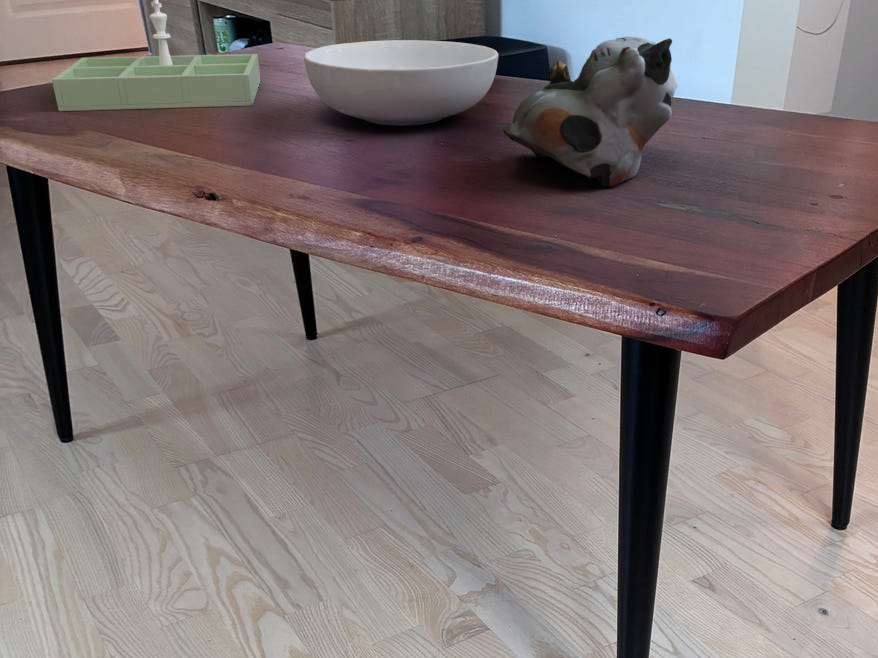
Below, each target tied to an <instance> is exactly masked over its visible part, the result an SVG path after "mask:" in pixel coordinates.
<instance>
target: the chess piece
mask: <svg viewBox="0 0 878 658" xmlns="http://www.w3.org/2000/svg"><path fill="white" fill-rule="evenodd" d="M150 5H151V7H152V8H154V12H153V13H150V14H149V19H150V21H151V23H152V24H153V27H154V29H155V31H156V33H154V34H152V39H155V40H158V41H157V42H158V56H159V62H160V65H173V64H172V60H171V57H170V56H171V54H170V50H169V46H168V41H167V39H170V38H171V37H172V36H171V34H170V33H167V32H166V27H167V20H168V15H167V14H166V13H164V12H162V11H161V8H162V6H163V5H162V3H161V2H159V0H153V1H151V2H150Z"/></svg>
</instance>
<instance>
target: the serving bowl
mask: <svg viewBox="0 0 878 658" xmlns="http://www.w3.org/2000/svg"><path fill="white" fill-rule="evenodd" d="M303 59H304V60H303V61H304V66H305V71H306V74H307V75H306V76H307V77H308V80H309V83H310V85H311V87H312V89H313V91H314V92H315V93H316V95H317V96H318V97H319V98H320V99H321V100H322V101H323V102H324V103H325V104H326V105H327V106H329V107H330V108H331V109H333V110H335V111H337V112H339V113H341V114H344V115H347V116H350V117H353V118H357V119H360V120H361V119H362V120H364V121H366V122H368V123H372V124H376V125H381V126H382V125H383V126H396V127H397V126H398V127H401V126H406V127H407V126H419V125H427V124H432V123H436V122H439V121H441V120H443V119H445V118H448V117H453V116H455V115H458V114H461V113H464V112H465V111H467V110H469V109H471V108H472V107H474V106H476V105H477V104H478V103H479V102H480V101H481V100H482V99H483V98H484V97H485V96H486V95H487V93H488V92H489V90H490V88H491V87H492V85H493V83H494V80H495V77H496V73H497V68H498V62H499V53H498V52H497V50H496V49H494V48H491V47H488V46H485V45H479V44H473V43H466V42H456V41H446V40H445V41H444V40H443V41H441V40H422V39H421V40H419V39H418V40H417V39H414V40H413V39H410V40H408V39H394V40H393V39H391V40H388V39H387V40H369V41H357V42H345V43H336V44H330V45H324V46H320V47H318V48H317V47H316V48H313V49H310V50H309V51H307V52H305V54H304V55H303Z"/></svg>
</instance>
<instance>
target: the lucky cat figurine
mask: <svg viewBox="0 0 878 658" xmlns="http://www.w3.org/2000/svg"><path fill="white" fill-rule="evenodd" d="M672 43H673V40H672V38H665V39H663V40H661V41H659V42H657V43H656V42H655V41H652V40H648V39H645V38H642V37H637V36H636V37H635V36H623V37H616V38H615V39H609V40H608V39H607V40H605V41H602V42H601V43H600V44H598V45H596V47H595V48H593V49H592V50H591V52H590V55H589V56H588V57H587V59H586V60H585V62H584V64H583V65H582V67H581V70H580V72H579V74H578V77H577V78H576V79H574V81H573V80H571V75H570V72H569V68H568V65H566V64H565V63H563V62H562V61H561V60H558V61H556V62H555V63H554V64H553V66H551V67H550V69H549V84H547V85H545V86H544V87H543V88H541V89H537V90H535V91H532V92H531V93H530V94H528V95H527V96H526V97H524V99H523V100H522V101H521V102H520V104H519V105H518V107H517V109H516V111H515V112H514V115H513V118H512V123H509V124H507V125H505V126H504V127H503V130H502V131H503V134H505V136H507V137H508V138H509V139H510V140H511V141H514V142H515V143H517V144H519V145H521V146H523V147H525V148H527V149H529V150H530V151H531V152H532V153H533V154H534V155H535V156H536V157H538V158H539V157H545V156H547V157H549V158H551V159H552V160H554V161H556V162H558V163H559V164H561V165H562V166H564V167H566V168H568V169H569V170H571V171H574V172H575V173H578V174H580V175H582V176H585V177H587V178H589V179H592V180H593V179H595V178H596V179H597V180H598V182H599V183H600V184H601V186H602V187H609V188H613V187H615V186H617V185H619V184H622V183H623V182H625V181H628V180H630V179H631V178H634V177H635V176H636V175H637V173H638V172H639V170H640V166H641V162H642V156H643V149H644V147H645V146H646V144H647V143H648V142H649V141H650V140H651V139H652V137H654V135H655V134H656V133H657V132H658V131H659V130H660V129H661V128H662V127H663V126H664V125H665V124H666V123H667V122H668V121H669V120H670V119H671V117H672V113H673V110H672V102H673V98H674V96H675V93H676V91H677V89H678V87H679V84H678V82H677V80H676V78H675V75H674V73H673V71H672V61H673V60H672V52H671V45H672Z"/></svg>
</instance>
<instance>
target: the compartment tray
mask: <svg viewBox="0 0 878 658" xmlns="http://www.w3.org/2000/svg"><path fill="white" fill-rule="evenodd" d="M170 57H171V60H172V64H173V65H160V62H159V55H152V56H151V55H147V56H145V55H143V56H142V55H141V56H101V57H99V56H98V57H81V58H79V59H78V60H77V61H75V62H74V63H73V64H71V65H69V67H67V68H65V69H64V70H62V72H60V73H59V74H57V75H56V76H55V77H53V78H51V82H52V83H51V84H52V87H53V93H54V95H55V100H56V105H57V109H58V112H81V111H82V112H83V111H84V112H86V111H116V110H117V111H118V110H119V111H120V110H149V109H150V110H151V109H152V110H153V109H155V110H156V109H185V108H189V109H190V108H215V107H216V108H218V107H219V108H220V107H251V106H252V107H253V104H254V102H255V99H256V96H257V93H258V90H259V88H260V85H261V82H260V81H261V74H260V65H259V57H258V53H240V54H239V53H235V54H234V53H232V54H231V53H230V54H229V53H228V54H189V55H186V54H185V55H170ZM259 84H260V85H259ZM258 87H259V88H258Z"/></svg>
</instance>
